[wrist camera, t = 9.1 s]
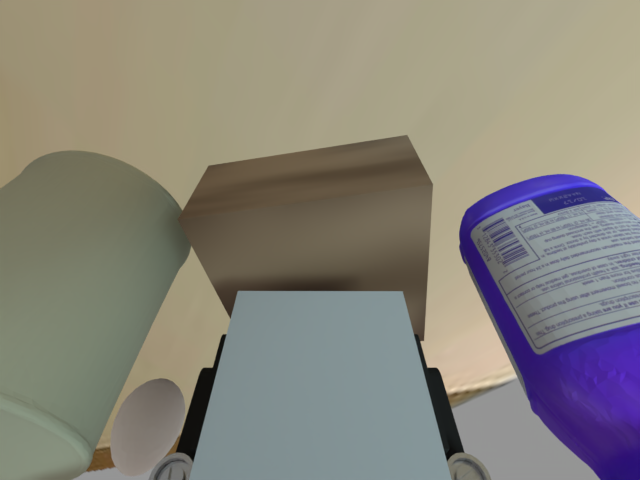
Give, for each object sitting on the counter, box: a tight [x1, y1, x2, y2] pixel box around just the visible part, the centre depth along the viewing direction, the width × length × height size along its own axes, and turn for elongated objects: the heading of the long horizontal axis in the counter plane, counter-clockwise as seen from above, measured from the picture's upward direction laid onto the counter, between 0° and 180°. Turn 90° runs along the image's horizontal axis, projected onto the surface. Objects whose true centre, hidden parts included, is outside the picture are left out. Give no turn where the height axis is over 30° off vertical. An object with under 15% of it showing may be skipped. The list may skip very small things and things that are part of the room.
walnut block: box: [177, 135, 433, 341], centre depth 18 cm, size 10×10×5 cm
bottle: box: [459, 174, 640, 480], centre depth 12 cm, size 7×6×17 cm
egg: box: [110, 378, 185, 477], centre depth 28 cm, size 5×5×7 cm
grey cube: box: [189, 291, 452, 480], centre depth 12 cm, size 6×6×6 cm
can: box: [0, 150, 191, 480], centre depth 15 cm, size 9×9×12 cm
